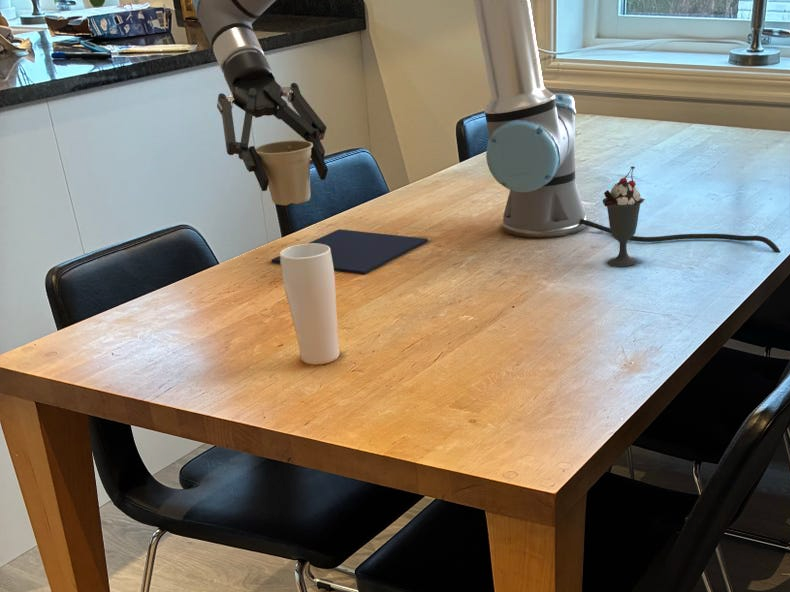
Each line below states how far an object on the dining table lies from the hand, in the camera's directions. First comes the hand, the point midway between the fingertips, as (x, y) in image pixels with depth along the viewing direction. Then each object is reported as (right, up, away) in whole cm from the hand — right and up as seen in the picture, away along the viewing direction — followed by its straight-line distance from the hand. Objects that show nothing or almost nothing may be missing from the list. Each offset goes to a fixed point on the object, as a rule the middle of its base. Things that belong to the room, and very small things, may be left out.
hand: (295, 180), depth 167 cm
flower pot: (-1, -2, +4) cm, 5 cm away
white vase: (+8, -33, -25) cm, 42 cm away
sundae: (+53, -12, +4) cm, 55 cm away
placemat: (+7, -7, +18) cm, 21 cm away
